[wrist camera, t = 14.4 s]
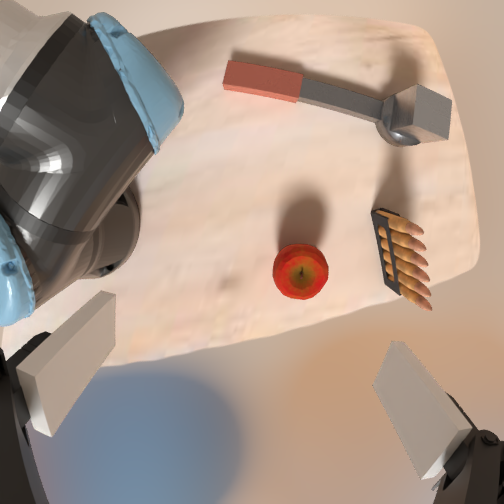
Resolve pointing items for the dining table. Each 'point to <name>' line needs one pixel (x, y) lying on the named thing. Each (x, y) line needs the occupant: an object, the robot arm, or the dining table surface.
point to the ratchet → (313, 95)
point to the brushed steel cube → (421, 114)
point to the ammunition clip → (401, 256)
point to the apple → (300, 271)
